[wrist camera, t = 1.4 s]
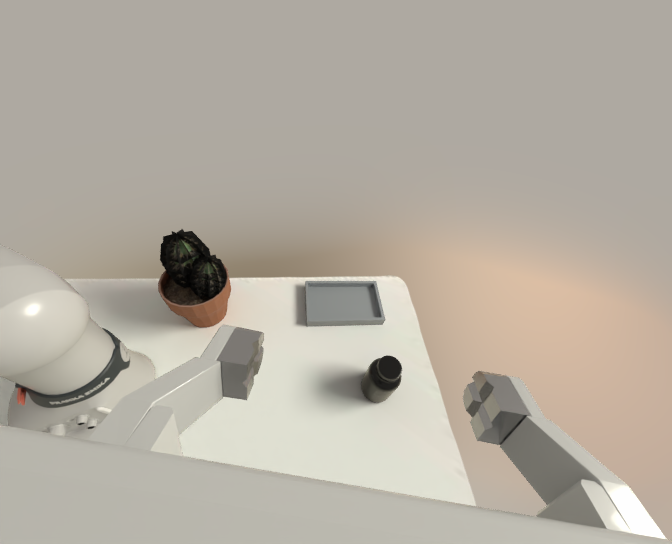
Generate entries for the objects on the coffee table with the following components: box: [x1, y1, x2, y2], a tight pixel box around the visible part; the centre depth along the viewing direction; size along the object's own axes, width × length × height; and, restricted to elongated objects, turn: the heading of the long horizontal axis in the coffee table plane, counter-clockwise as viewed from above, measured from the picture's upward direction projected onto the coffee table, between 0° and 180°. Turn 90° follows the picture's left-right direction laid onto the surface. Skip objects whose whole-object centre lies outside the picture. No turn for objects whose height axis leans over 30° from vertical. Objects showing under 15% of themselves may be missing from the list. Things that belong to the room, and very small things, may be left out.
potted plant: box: [158, 230, 231, 327], centre depth 59 cm, size 14×14×25 cm
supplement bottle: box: [361, 356, 402, 403], centre depth 58 cm, size 7×7×12 cm
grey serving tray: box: [305, 281, 385, 326], centre depth 74 cm, size 20×12×2 cm, turn 96°
